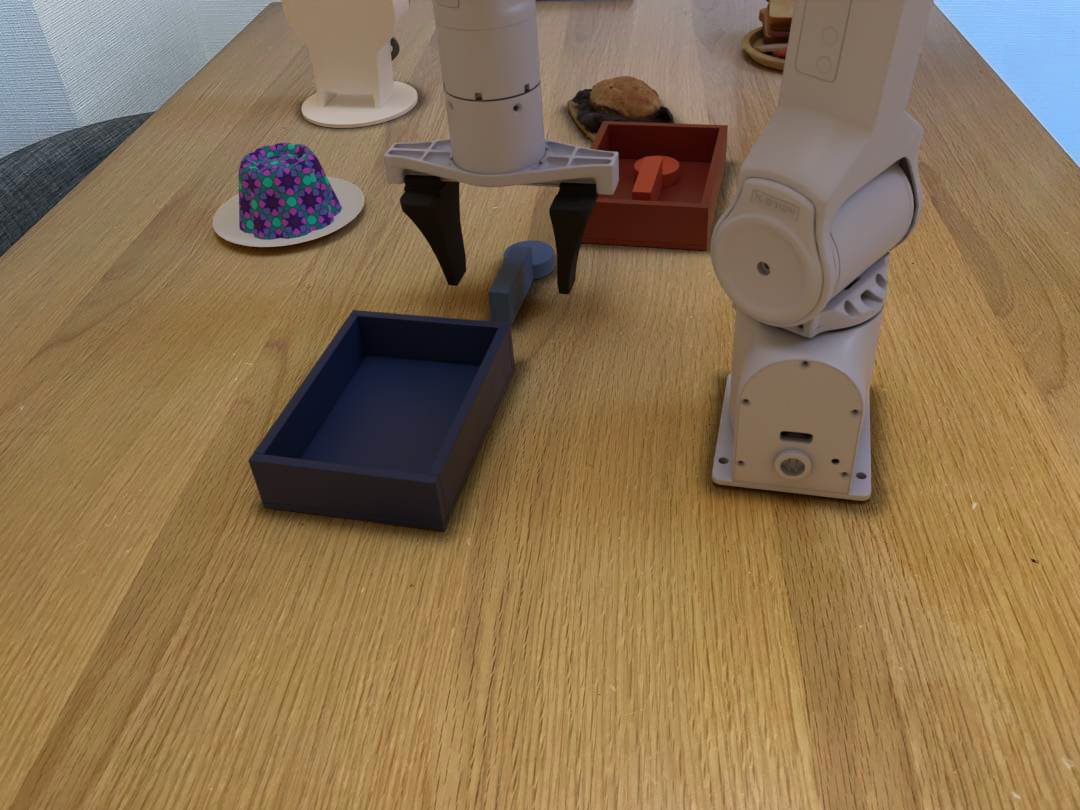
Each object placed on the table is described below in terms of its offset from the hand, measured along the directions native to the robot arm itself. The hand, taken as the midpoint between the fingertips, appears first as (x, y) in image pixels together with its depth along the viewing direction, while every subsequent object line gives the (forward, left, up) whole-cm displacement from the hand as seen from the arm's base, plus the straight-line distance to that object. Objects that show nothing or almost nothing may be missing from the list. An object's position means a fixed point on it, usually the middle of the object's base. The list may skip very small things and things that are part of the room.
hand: (511, 282), depth 66 cm
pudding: (+9, +21, -2) cm, 23 cm away
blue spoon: (+1, 0, -2) cm, 2 cm away
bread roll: (+30, -2, -2) cm, 31 cm away
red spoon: (+15, -7, -1) cm, 17 cm away
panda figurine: (+32, +24, -2) cm, 40 cm away
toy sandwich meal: (+49, -17, -2) cm, 52 cm away
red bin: (+15, -7, -2) cm, 17 cm away
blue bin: (-15, +3, -2) cm, 15 cm away
